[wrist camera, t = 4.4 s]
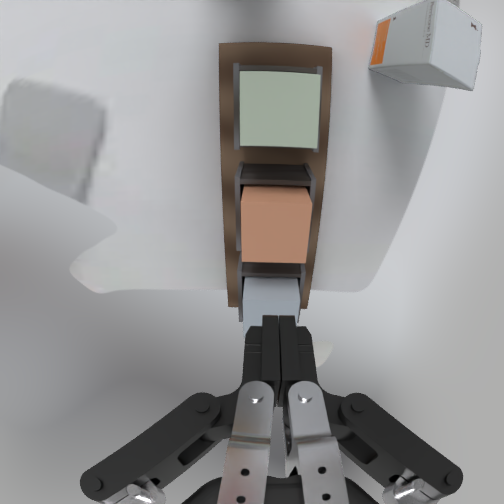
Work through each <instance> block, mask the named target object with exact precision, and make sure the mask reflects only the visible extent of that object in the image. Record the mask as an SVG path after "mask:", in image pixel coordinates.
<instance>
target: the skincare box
mask: <svg viewBox="0 0 504 504" xmlns="http://www.w3.org/2000/svg"><path fill="white" fill-rule="evenodd" d="M481 34H482V24H481V23H480V22H478V21H477V20H475V19H474V18H473V17H471V16H470V15H468V14H467V13H465V12H464V11H463V10H461V9H460V8H458V7H457V6H455V5H454V4H452V3H451V2H449V1H447V0H424V1H422V2H419V3H417V4H415V5H412V6H410V7H408V8H405V9H403V10H401V11H398V12H396V13H394V14H392V15H390V16H388V17H386V18H384V19H382V20H379V21H378V22H377V29H376V35H375V41H374V46H373V50H372V55H371V59H370V63H369V67H368V68H369V69H370V70H373V71H376V72H378V73H381V74H383V75H385V76H388V77H390V78H392V79H395V80H397V81H399V82H401V83H408V84H423V85H434V86H443V87H451V88H458V89H463V90H468V91H473V89H474V84H475V79H476V73H477V67H478V64H479V61H480V53H481V52H480V45H481Z"/></svg>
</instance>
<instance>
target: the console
mask: <svg viewBox="0 0 504 504" xmlns="http://www.w3.org/2000/svg"><path fill="white" fill-rule="evenodd" d="M240 71H274V72H294V73H307V74H318V75H321V78H320V106H319V125H318V142H317V148H303V147H282V146H240ZM331 73H332V48H331V47H323V46H314V45H304V44H291V43H267V42H242V43H219V102H220V146H221V176H222V201H223V222H224V242H225V260H226V277H227V292H228V306H229V307H238V308H239V322H243V291H244V282H245V276H253V277H296V278H297V280H298V287H299V294H300V307H299V314H298V320H297V323H298V322H299V315H300V309H307V306H308V300H309V294H310V288H311V282H312V275H313V269H314V262H315V255H316V248H317V241H318V233H319V225H320V217H321V209H322V200H323V191H324V181H325V171H326V160H327V147H328V134H329V119H330V100H331ZM244 184H267V185H296V186H306V189H307V191H308V194H309V197H310V199H311V202H312V213H311V222H310V231H309V240H308V248H307V256H306V263H274V262H242V248H241V198H242V193H243V189H244Z"/></svg>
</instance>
